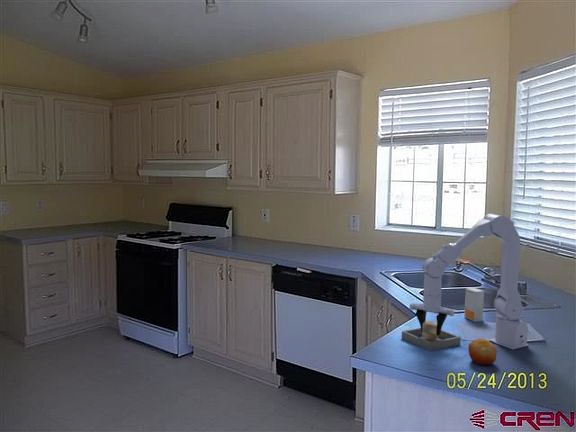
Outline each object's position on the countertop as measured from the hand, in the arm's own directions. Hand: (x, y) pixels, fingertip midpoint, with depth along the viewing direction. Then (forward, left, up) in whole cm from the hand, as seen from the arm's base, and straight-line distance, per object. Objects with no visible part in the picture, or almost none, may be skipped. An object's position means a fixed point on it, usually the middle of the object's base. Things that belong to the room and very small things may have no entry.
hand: (430, 333), depth 164 cm
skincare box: (+11, -34, -3) cm, 36 cm away
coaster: (0, 0, -3) cm, 3 cm away
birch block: (0, 0, -1) cm, 1 cm away
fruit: (-21, 0, -3) cm, 21 cm away
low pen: (0, 0, -3) cm, 3 cm away
